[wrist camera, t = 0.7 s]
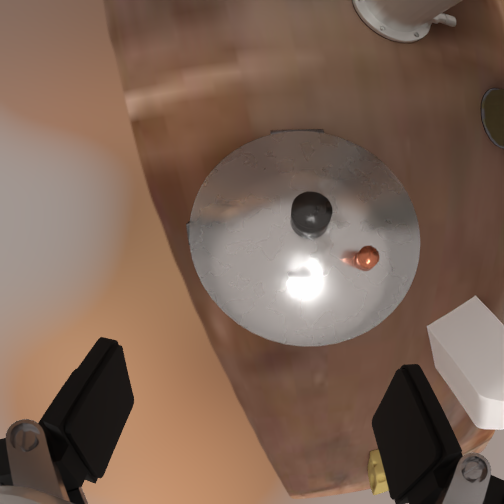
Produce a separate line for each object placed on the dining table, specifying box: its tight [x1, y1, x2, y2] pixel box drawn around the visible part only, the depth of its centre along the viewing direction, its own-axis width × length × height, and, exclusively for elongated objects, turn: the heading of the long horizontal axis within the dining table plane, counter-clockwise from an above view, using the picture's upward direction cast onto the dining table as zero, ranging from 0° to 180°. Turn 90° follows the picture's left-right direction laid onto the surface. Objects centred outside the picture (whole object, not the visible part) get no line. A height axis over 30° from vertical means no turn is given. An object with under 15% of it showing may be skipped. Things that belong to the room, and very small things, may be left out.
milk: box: [427, 296, 504, 429], centre depth 35 cm, size 12×12×26 cm
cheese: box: [368, 449, 389, 495], centre depth 56 cm, size 10×11×10 cm
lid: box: [189, 129, 420, 346], centre depth 23 cm, size 19×20×3 cm
